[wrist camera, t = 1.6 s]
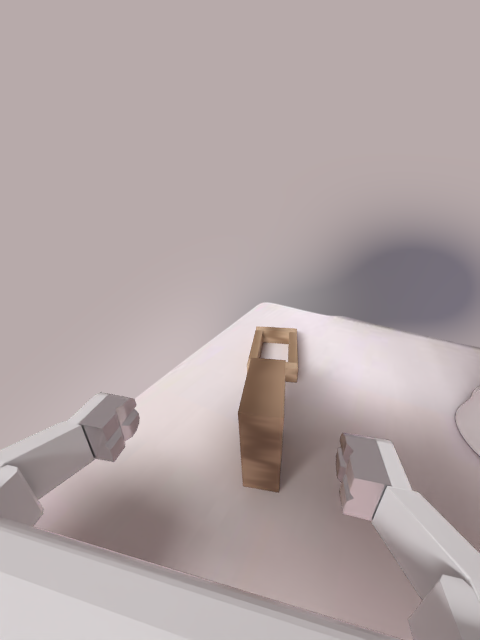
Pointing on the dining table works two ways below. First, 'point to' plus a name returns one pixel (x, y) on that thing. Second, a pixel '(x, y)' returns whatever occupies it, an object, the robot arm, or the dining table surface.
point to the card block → (262, 423)
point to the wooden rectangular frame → (277, 337)
